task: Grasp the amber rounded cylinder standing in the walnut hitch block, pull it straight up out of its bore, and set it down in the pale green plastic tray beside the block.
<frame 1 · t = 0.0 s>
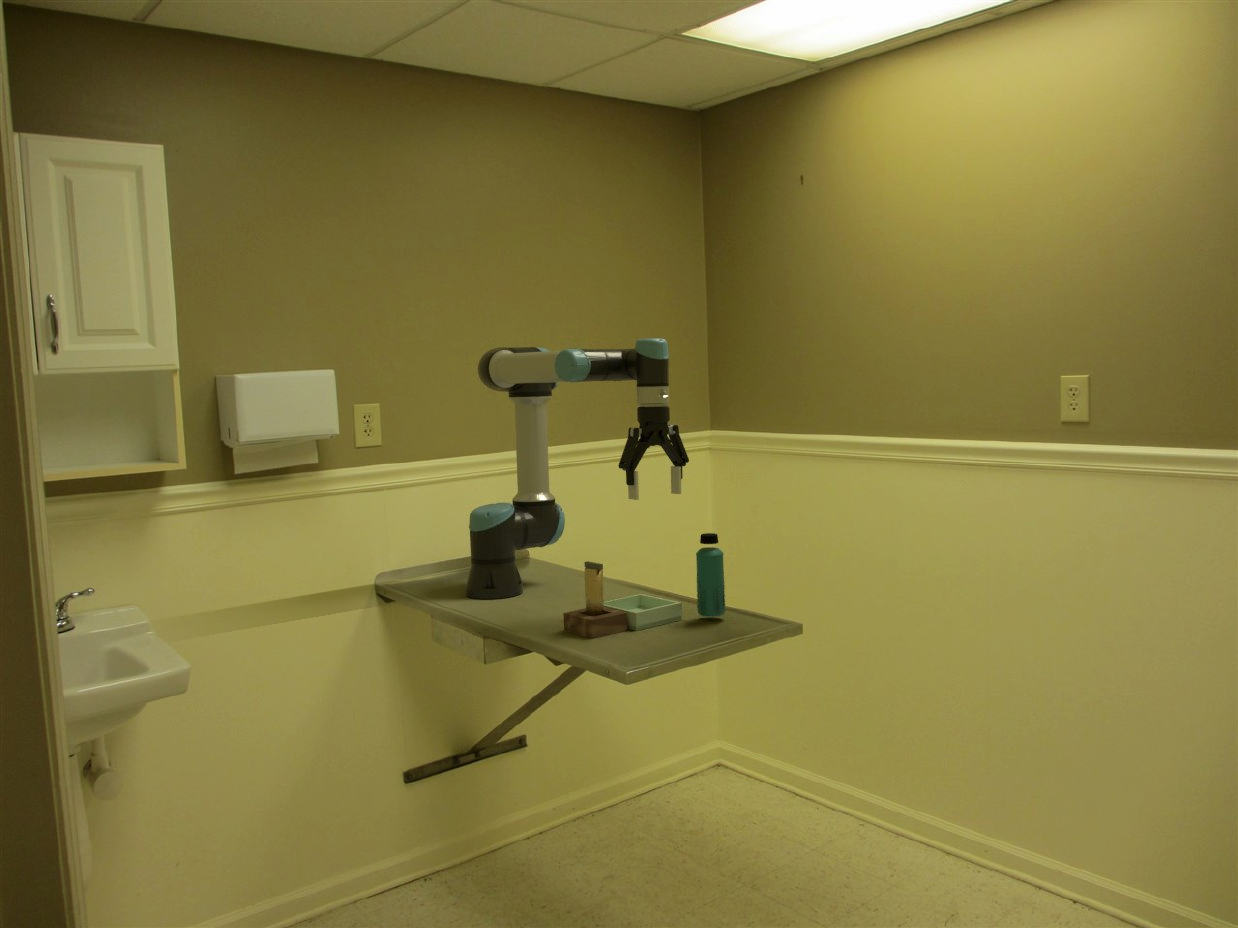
hand: (655, 496, 233), 28 cm above the table, fingers open, 13 cm apart
beverage bottle: (711, 620, 229), on the table
amber rounded cylinder: (594, 596, 221), in the hitch block
hitch block: (595, 630, 222), on the table
tray: (638, 620, 230), on the table
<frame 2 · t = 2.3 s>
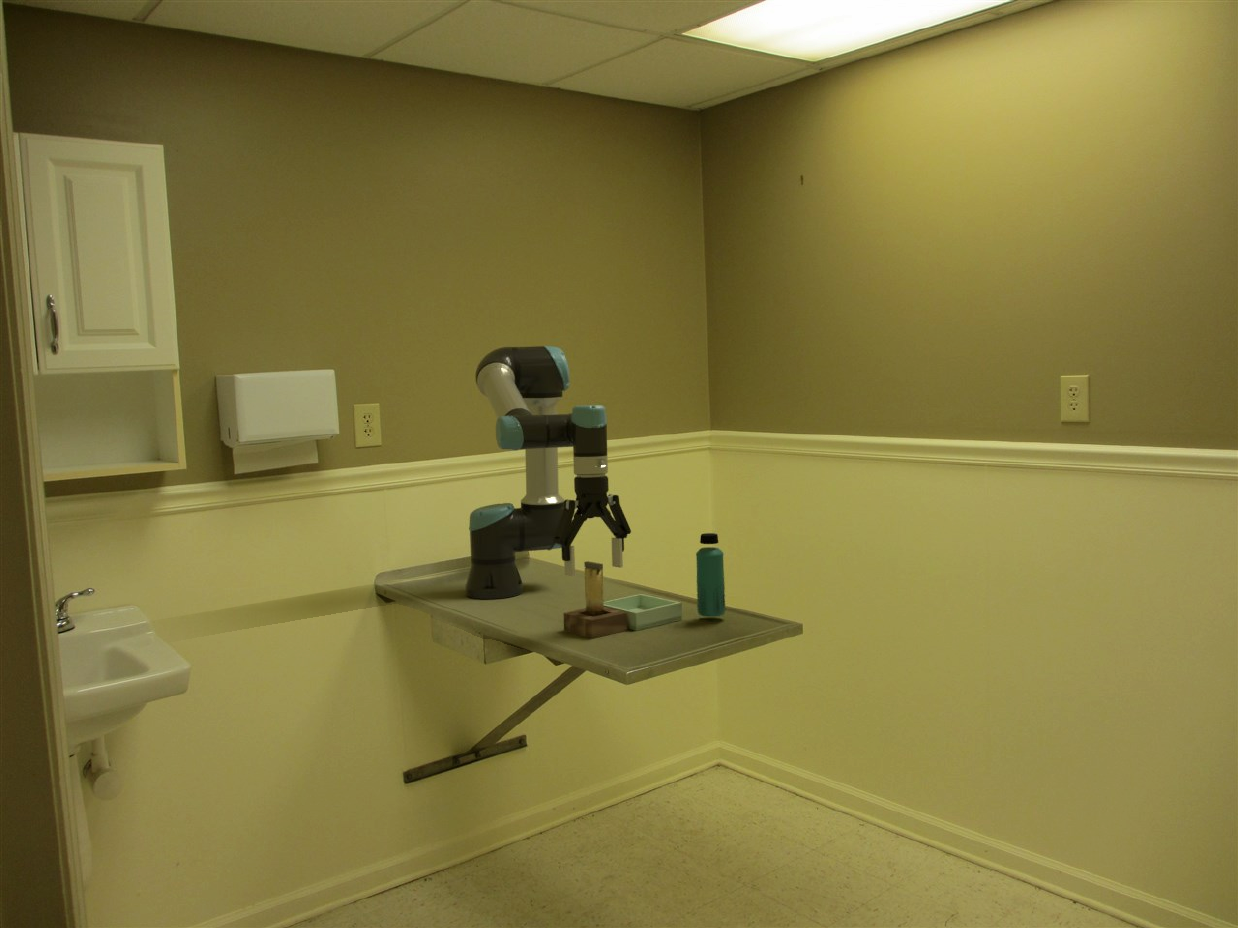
hand: (594, 571, 220), 13 cm above the table, fingers open, 13 cm apart
nothing on the table moved.
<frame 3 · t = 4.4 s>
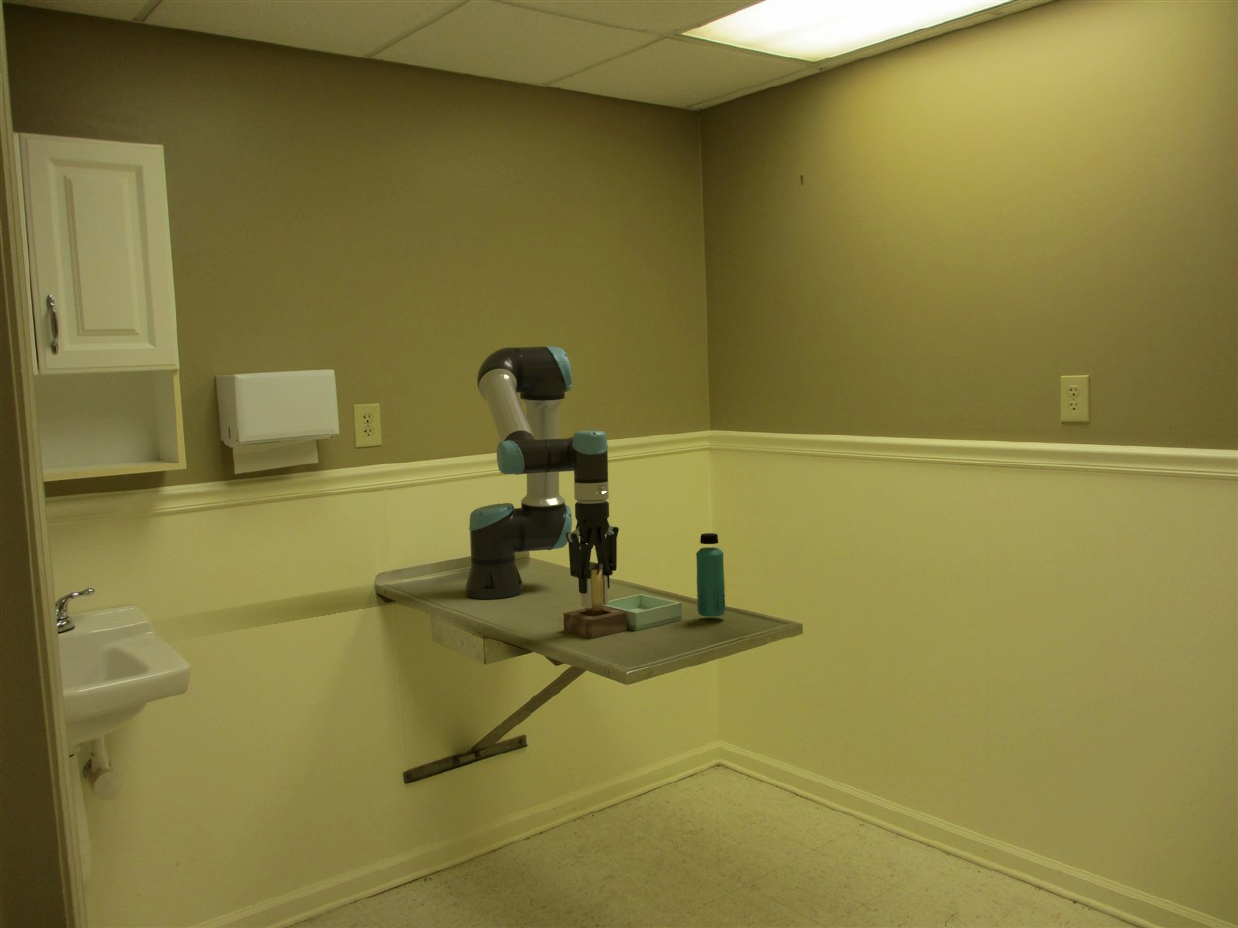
hand: (594, 605, 221), 6 cm above the table, fingers closed on amber rounded cylinder, 4 cm apart
amber rounded cylinder: (594, 596, 221), in the hitch block, touching gripper
everything else where it was.
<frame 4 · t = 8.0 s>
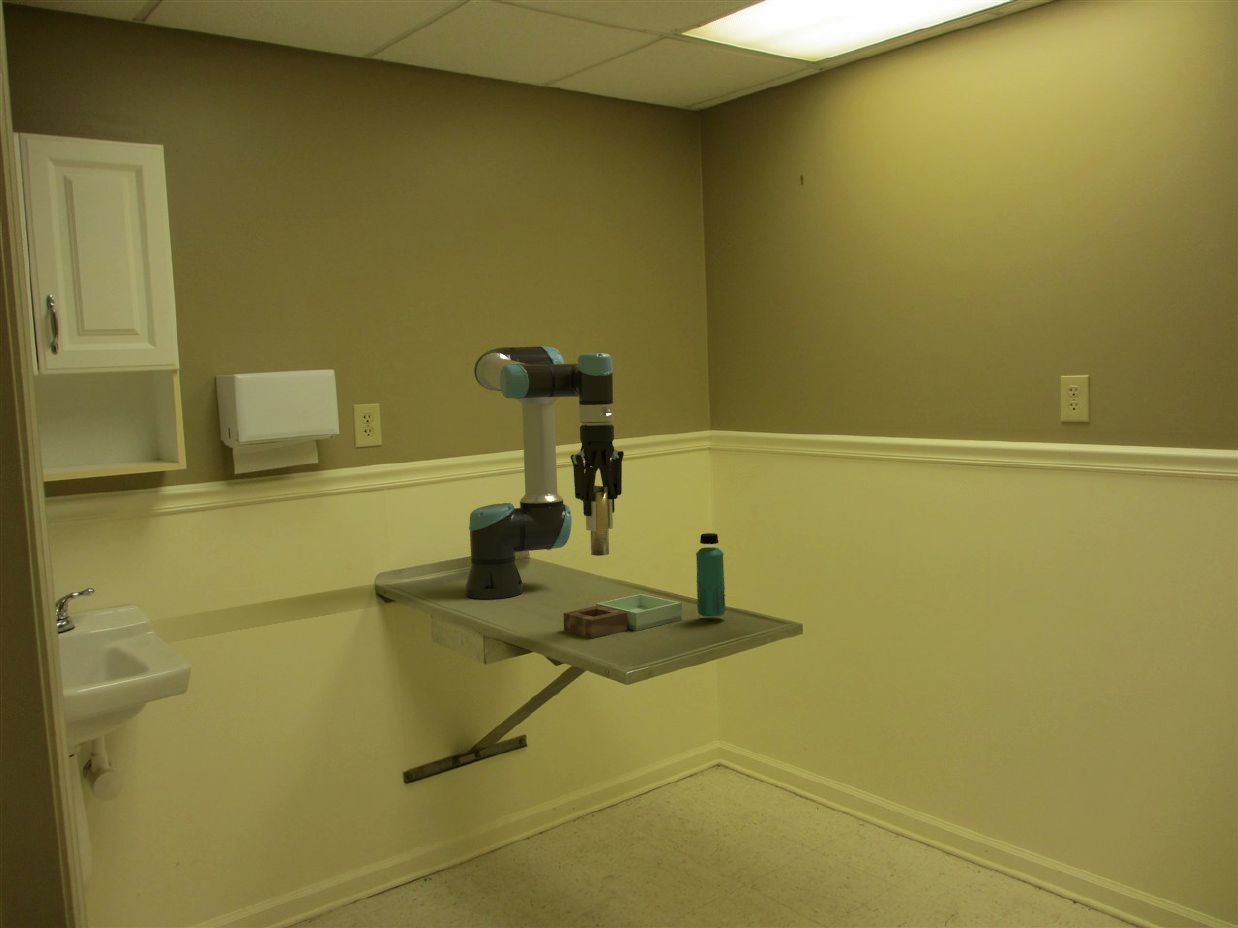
hand: (599, 528, 221), 23 cm above the table, fingers closed on amber rounded cylinder, 4 cm apart
amber rounded cylinder: (599, 520, 221), point 24 cm above the table, touching gripper
everything else where it was.
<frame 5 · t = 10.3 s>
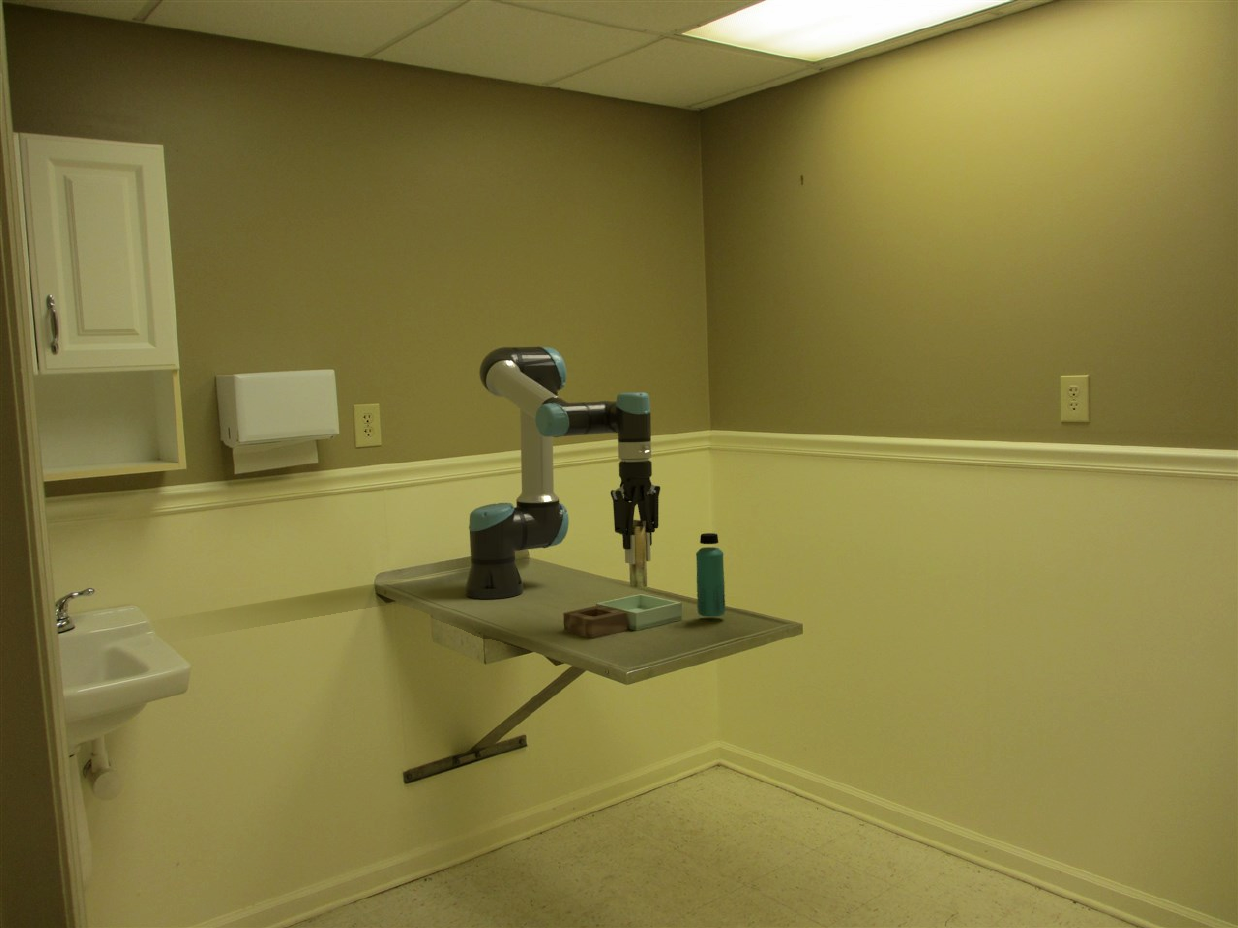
hand: (637, 561, 229), 14 cm above the table, fingers closed on amber rounded cylinder, 4 cm apart
amber rounded cylinder: (637, 553, 229), point 16 cm above the table, touching gripper
everything else where it was.
when the fingers open (9 cm above the table, at t = 11.9 s): amber rounded cylinder drops 2 cm, resting on tray.
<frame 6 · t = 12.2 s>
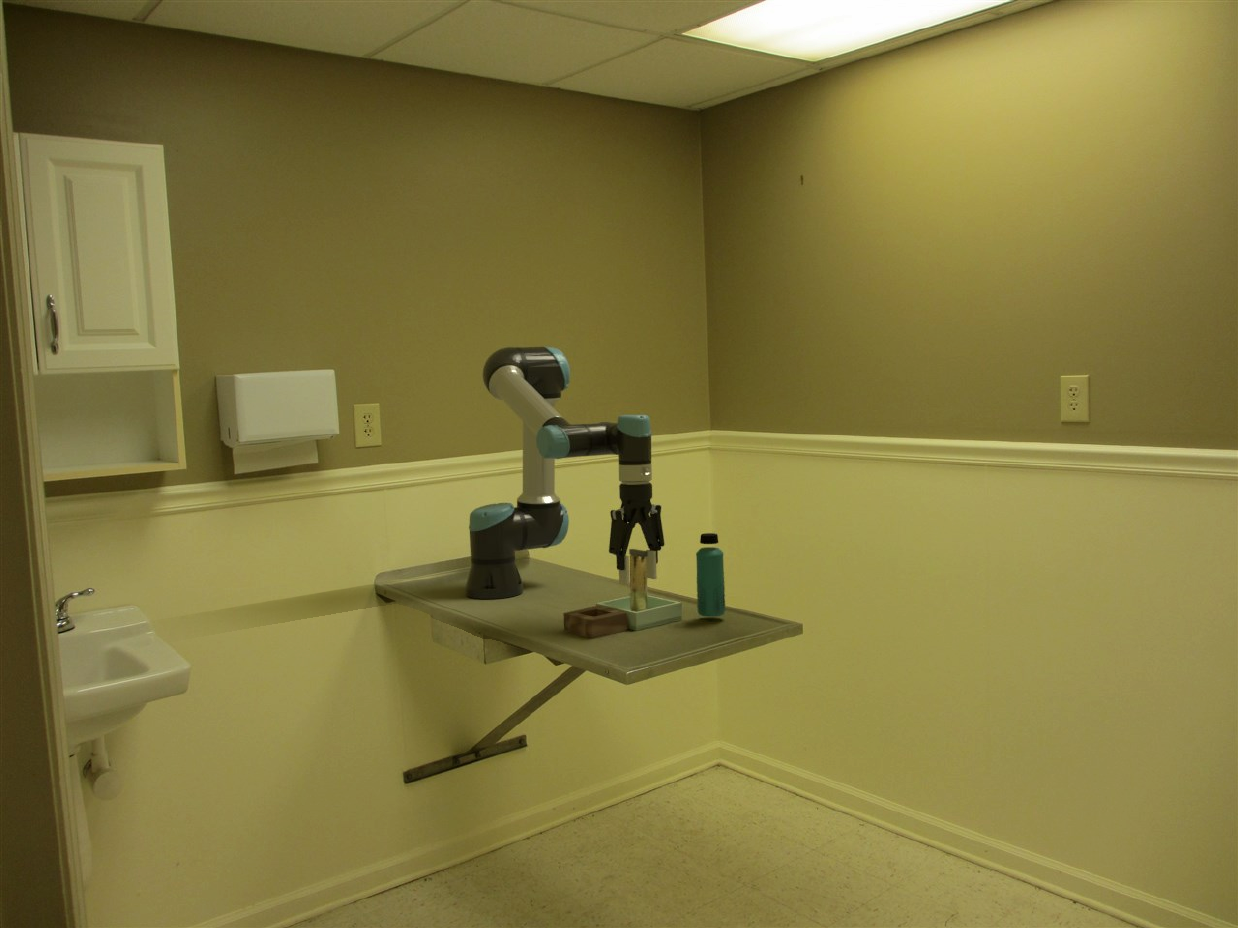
hand: (638, 580, 229), 9 cm above the table, fingers open, 8 cm apart
amber rounded cylinder: (638, 582, 230), in the tray, point 9 cm above the table
everything else where it was.
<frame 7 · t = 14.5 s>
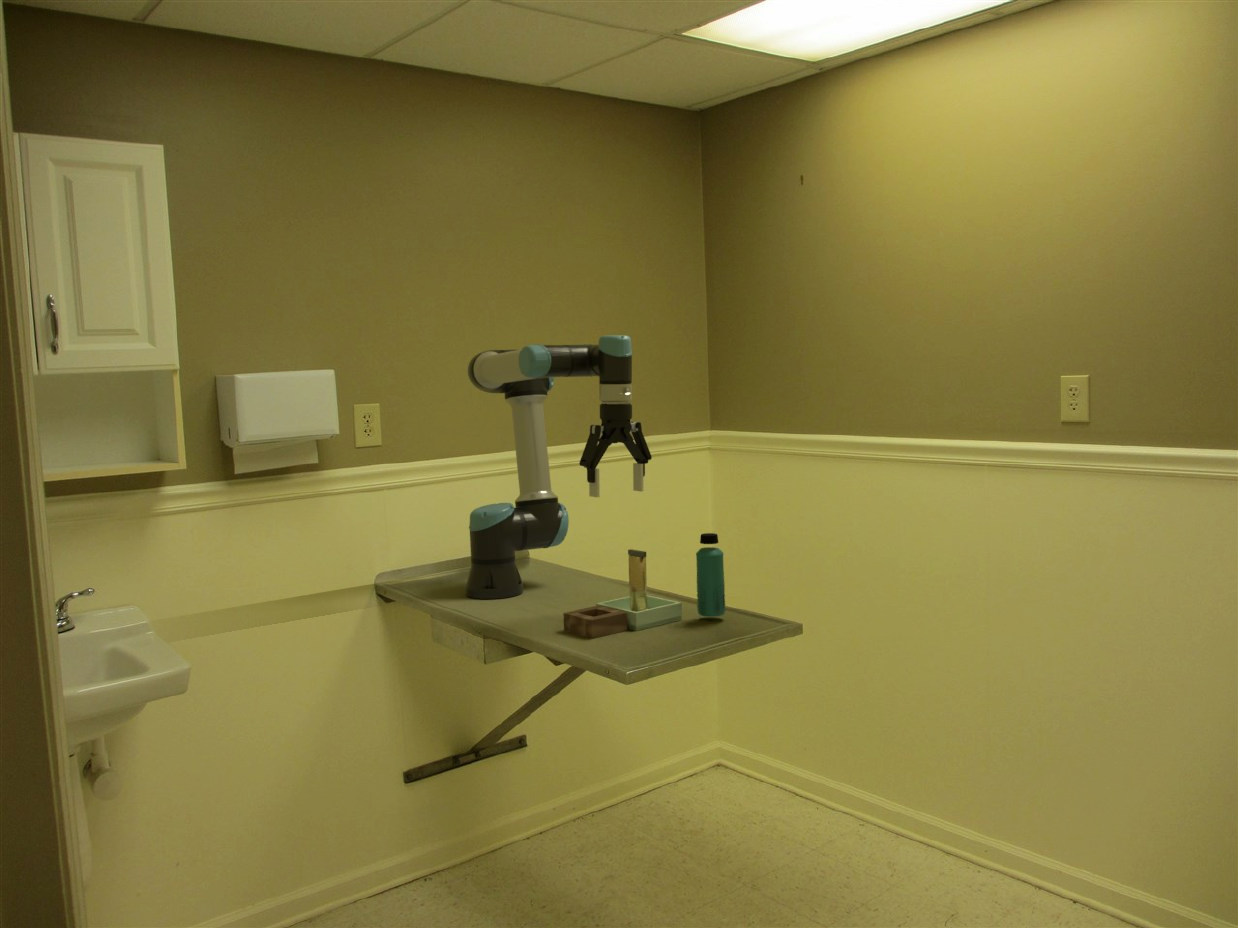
hand: (616, 493, 232), 29 cm above the table, fingers open, 13 cm apart
nothing on the table moved.
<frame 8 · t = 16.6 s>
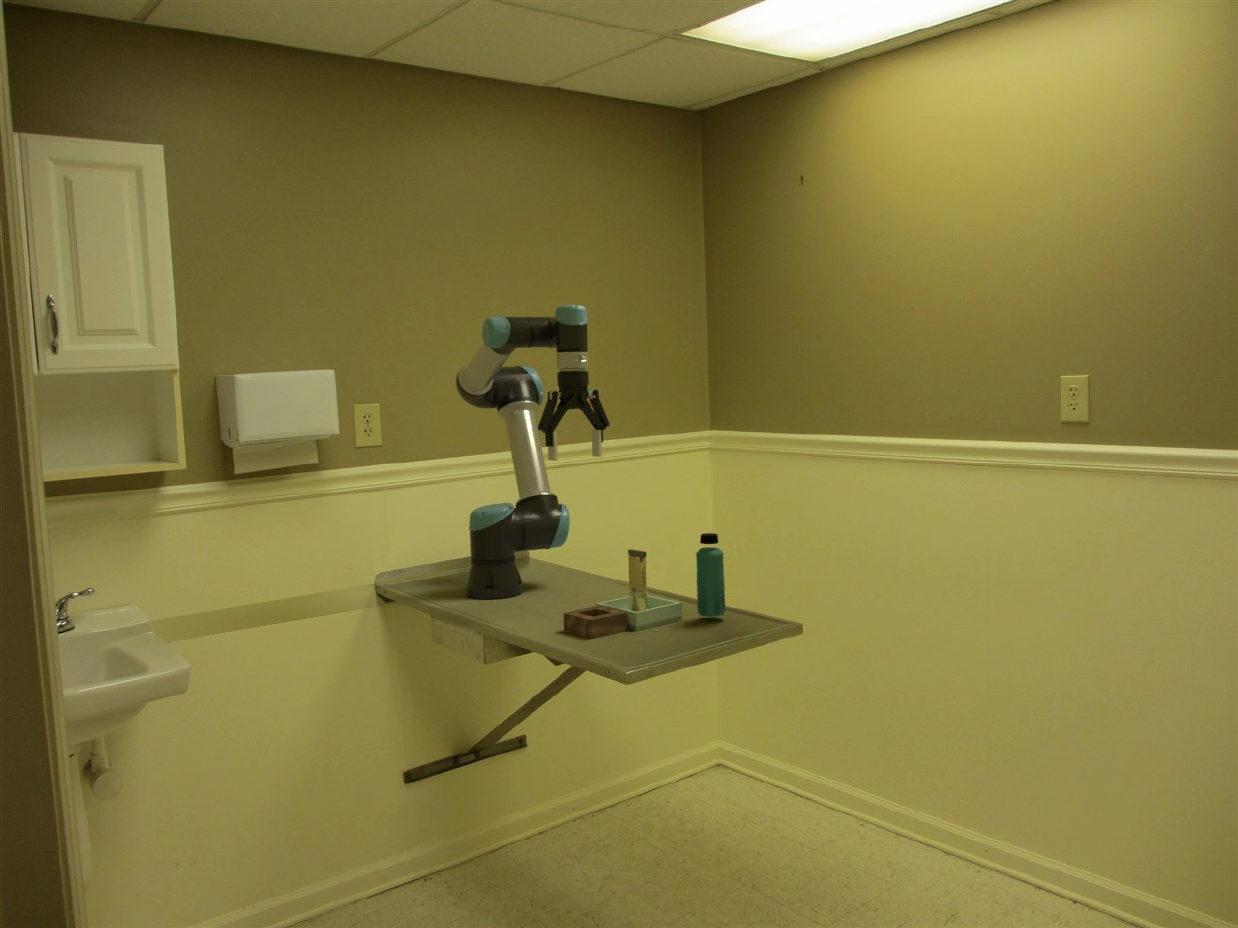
hand: (575, 458, 241), 37 cm above the table, fingers open, 13 cm apart
nothing on the table moved.
at the end: amber rounded cylinder inside the target area on the tray (0.0 cm from its centre), point 8.6 cm above the tray's base; the gripper is holding nothing; amber rounded cylinder touching tray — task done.
